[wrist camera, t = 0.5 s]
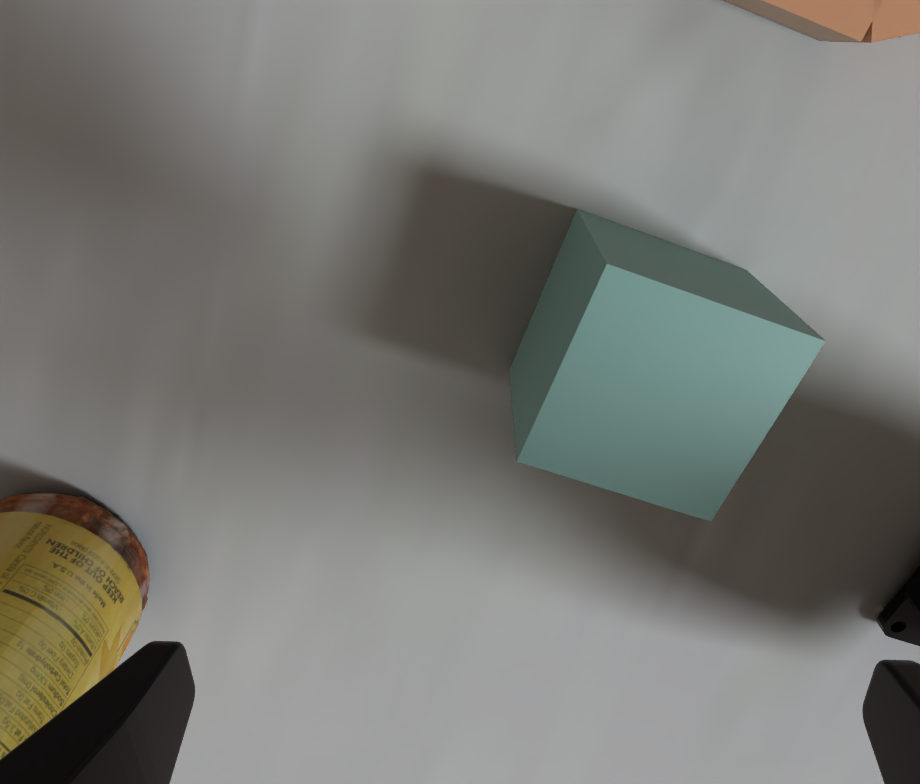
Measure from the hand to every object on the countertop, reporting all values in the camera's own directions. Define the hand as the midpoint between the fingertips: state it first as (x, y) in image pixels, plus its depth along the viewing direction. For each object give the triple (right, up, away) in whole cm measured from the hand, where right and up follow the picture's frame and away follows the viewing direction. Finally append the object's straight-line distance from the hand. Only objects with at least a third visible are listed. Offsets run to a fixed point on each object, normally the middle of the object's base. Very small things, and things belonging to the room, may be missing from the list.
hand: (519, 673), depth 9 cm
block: (+4, +6, +11) cm, 13 cm away
